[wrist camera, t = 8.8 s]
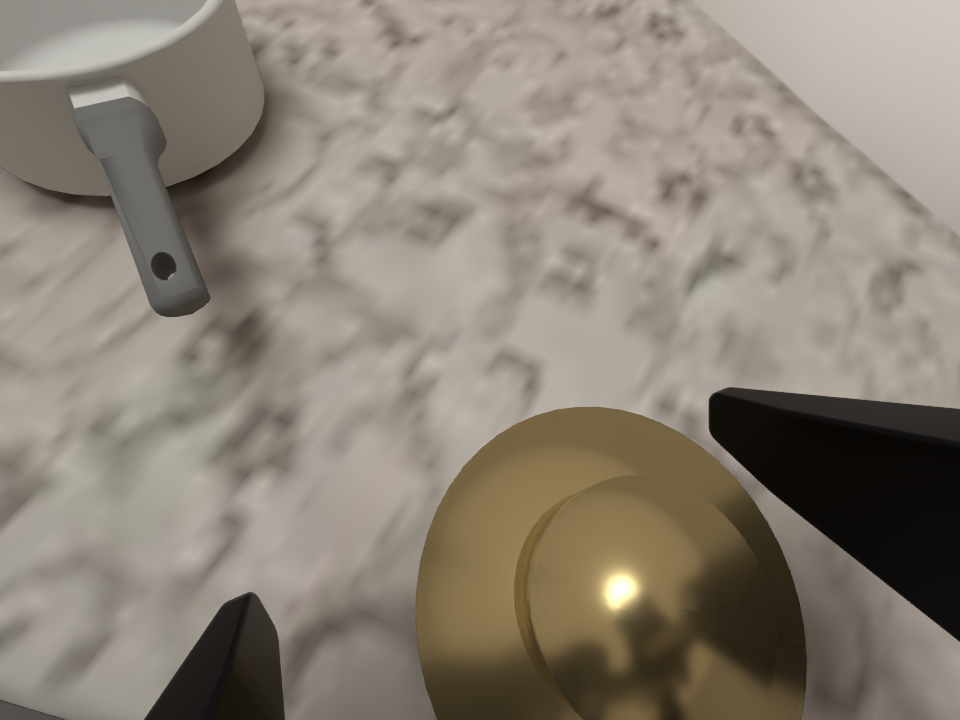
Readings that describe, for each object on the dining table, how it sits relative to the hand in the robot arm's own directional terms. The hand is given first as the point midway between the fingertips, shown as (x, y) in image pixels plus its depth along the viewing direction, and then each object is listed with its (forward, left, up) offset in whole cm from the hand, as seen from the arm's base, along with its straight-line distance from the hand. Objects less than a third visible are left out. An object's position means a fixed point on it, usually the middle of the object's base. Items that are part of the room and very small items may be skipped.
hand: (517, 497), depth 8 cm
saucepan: (+16, -9, -7) cm, 20 cm away
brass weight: (-1, +1, -7) cm, 7 cm away
